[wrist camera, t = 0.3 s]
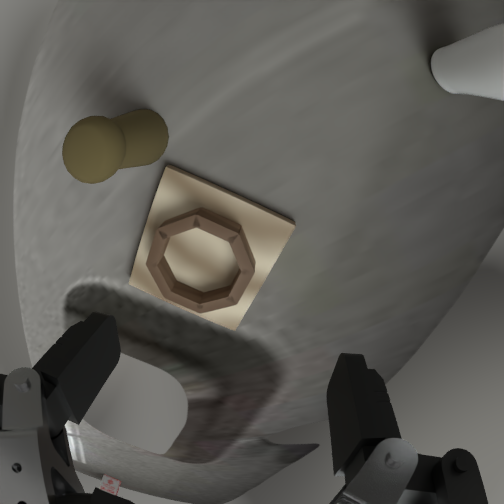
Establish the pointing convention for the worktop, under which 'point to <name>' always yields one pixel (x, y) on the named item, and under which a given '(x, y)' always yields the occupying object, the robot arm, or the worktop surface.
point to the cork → (113, 144)
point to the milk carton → (110, 484)
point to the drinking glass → (472, 64)
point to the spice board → (207, 248)
